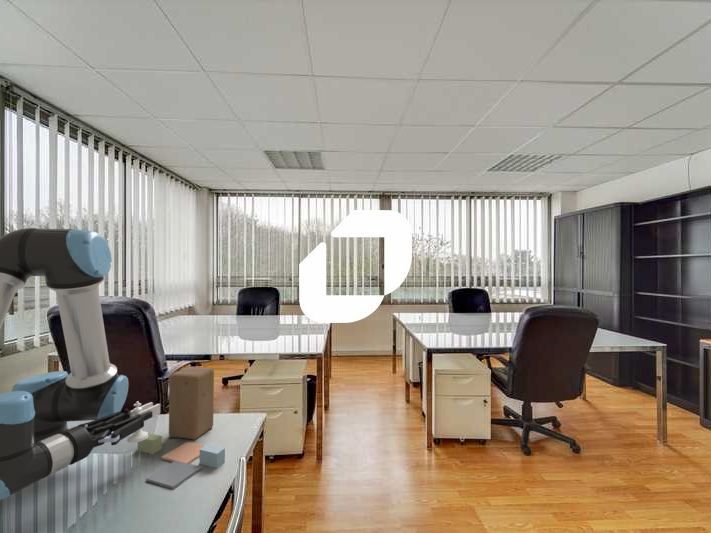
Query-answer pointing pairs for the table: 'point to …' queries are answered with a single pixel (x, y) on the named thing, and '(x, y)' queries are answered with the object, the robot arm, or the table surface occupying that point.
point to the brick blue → (212, 456)
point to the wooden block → (191, 402)
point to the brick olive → (150, 444)
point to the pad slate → (173, 474)
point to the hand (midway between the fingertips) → (155, 407)
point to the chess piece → (139, 434)
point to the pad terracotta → (184, 453)
